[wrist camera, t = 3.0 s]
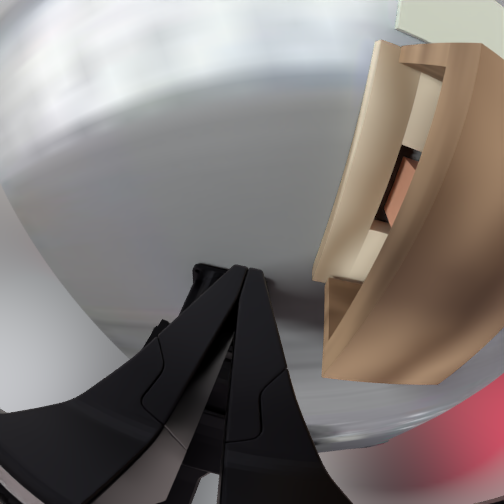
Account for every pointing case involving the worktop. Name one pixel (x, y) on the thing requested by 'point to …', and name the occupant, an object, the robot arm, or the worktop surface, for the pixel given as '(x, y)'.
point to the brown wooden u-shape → (433, 240)
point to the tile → (453, 22)
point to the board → (375, 163)
